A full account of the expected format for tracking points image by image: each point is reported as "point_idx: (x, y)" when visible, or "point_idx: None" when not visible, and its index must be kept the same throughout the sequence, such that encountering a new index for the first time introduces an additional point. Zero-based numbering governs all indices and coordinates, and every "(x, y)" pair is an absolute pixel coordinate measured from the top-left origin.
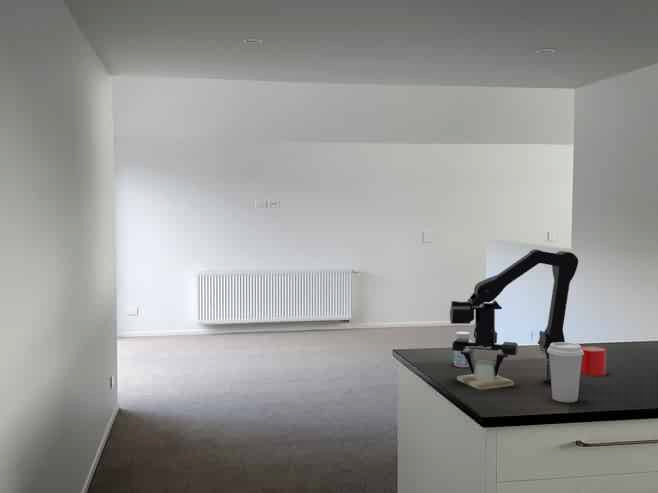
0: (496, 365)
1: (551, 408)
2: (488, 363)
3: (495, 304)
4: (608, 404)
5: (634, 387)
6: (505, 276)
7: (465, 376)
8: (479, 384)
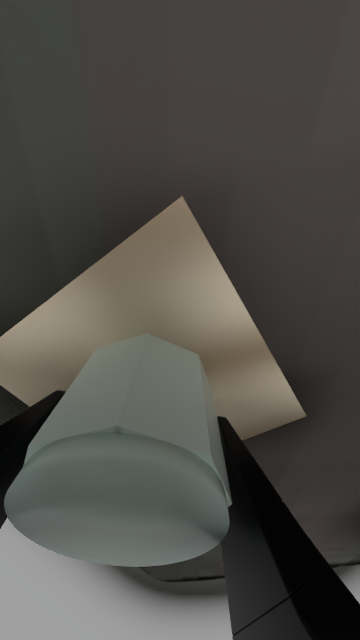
0: (226, 554)
1: (322, 551)
2: (156, 546)
3: None
4: None
5: None
6: None
7: (22, 361)
8: None
